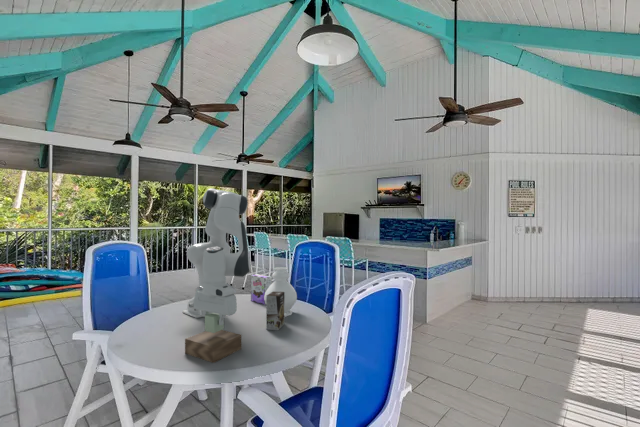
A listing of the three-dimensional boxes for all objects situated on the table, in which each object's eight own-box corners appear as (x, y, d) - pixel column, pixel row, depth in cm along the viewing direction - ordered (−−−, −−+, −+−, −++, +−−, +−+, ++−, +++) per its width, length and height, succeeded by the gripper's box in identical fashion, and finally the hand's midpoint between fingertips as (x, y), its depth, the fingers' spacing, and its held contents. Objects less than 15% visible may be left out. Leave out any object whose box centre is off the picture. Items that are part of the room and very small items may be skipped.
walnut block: (185, 354, 122) (185, 338, 122) (213, 341, 134) (213, 327, 134) (213, 363, 114) (213, 347, 114) (241, 349, 126) (241, 334, 126)
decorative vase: (303, 313, 172) (303, 268, 172) (277, 321, 159) (277, 272, 160) (283, 307, 184) (283, 264, 185) (257, 313, 172) (257, 268, 172)
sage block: (204, 330, 123) (204, 315, 123) (214, 326, 127) (214, 312, 127) (214, 333, 121) (214, 317, 121) (223, 329, 125) (223, 313, 125)
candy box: (250, 300, 198) (250, 274, 198) (257, 299, 203) (257, 273, 203) (264, 304, 189) (264, 277, 190) (272, 302, 194) (272, 276, 194)
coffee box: (278, 330, 146) (279, 295, 146) (265, 329, 147) (265, 295, 148) (285, 324, 155) (285, 291, 155) (272, 323, 156) (272, 290, 157)
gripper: (189, 287, 126) (189, 321, 126) (227, 292, 117) (227, 330, 116) (202, 284, 132) (202, 317, 132) (239, 289, 122) (239, 324, 122)
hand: (214, 323), depth 124 cm, fingers closed on sage block, 5 cm apart
